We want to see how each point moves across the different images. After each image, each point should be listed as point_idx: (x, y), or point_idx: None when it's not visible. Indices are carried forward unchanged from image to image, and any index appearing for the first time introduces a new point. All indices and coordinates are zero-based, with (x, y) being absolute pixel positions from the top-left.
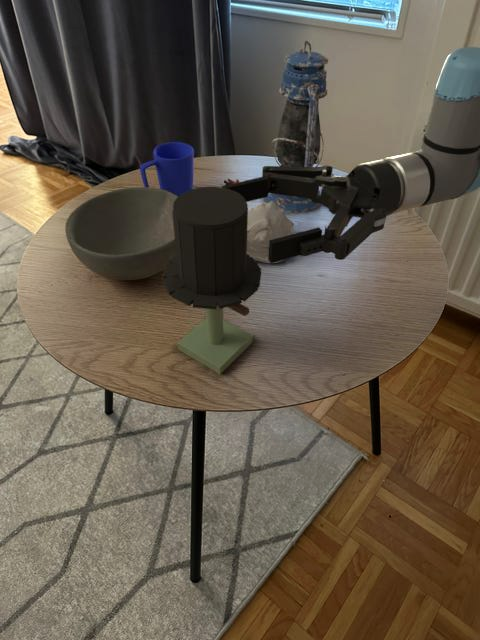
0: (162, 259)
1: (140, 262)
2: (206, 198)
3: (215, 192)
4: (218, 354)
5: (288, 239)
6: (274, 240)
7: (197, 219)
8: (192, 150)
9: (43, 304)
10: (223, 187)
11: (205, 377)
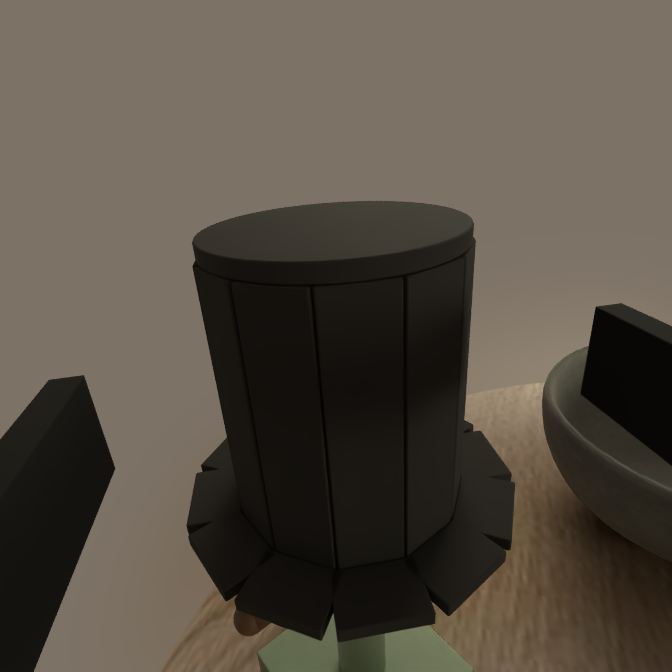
0: (604, 494)
1: (561, 445)
2: (378, 219)
3: (422, 226)
4: (302, 657)
5: (7, 434)
6: (63, 388)
7: (255, 217)
8: None
9: (507, 402)
10: (606, 305)
11: (266, 630)
